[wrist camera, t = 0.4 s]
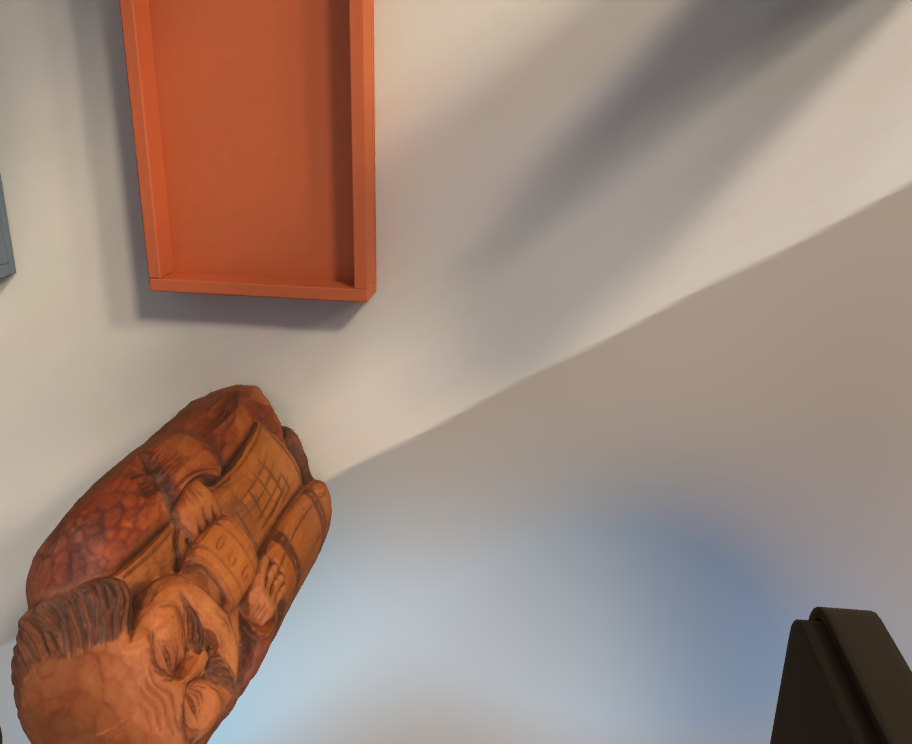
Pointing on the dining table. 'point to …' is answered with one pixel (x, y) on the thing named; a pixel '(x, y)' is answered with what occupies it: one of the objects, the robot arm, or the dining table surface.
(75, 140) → the dining table surface
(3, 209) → the slate tray
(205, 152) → the terracotta tray
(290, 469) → the wooden figurine
